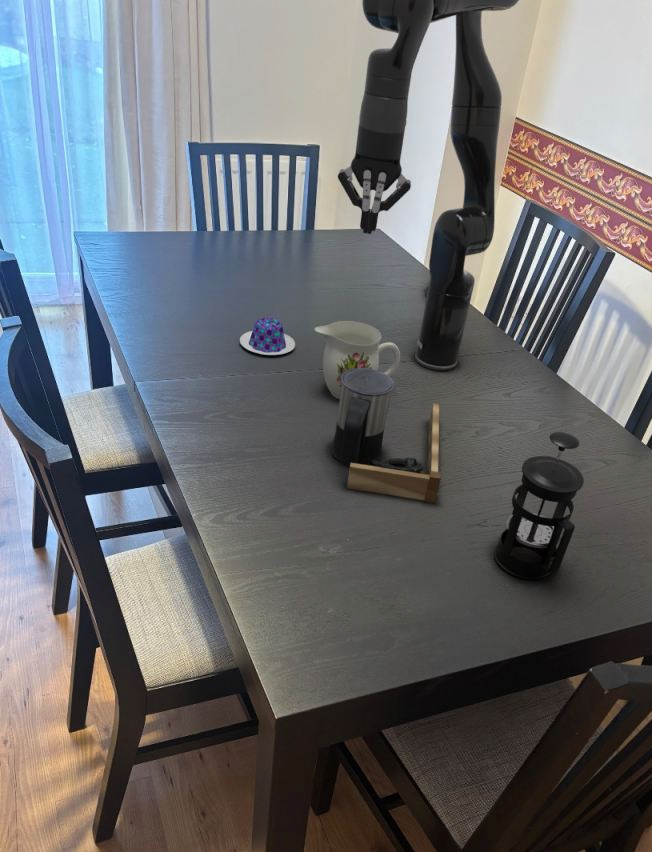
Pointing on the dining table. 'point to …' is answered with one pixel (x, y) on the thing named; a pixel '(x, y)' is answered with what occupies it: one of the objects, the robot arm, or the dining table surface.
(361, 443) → the milk frother
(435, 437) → the corner rail
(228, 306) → the dining table surface
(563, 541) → the french press
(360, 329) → the pitcher
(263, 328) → the pudding
